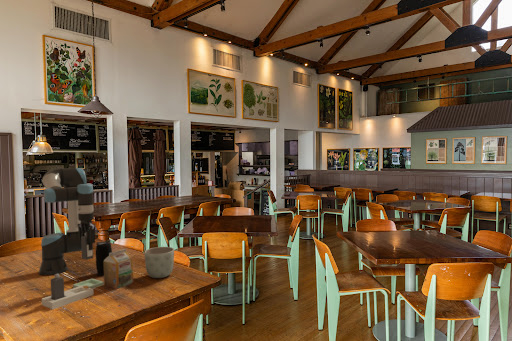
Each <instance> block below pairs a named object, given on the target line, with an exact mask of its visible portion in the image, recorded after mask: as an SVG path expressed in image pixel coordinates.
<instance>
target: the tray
mask: <svg viewBox="0 0 512 341" xmlns="http://www.w3.org/2000/svg"><path fill="white" fill-rule="evenodd" d="M82 285H83V286H89V288H92V289H93V290H94V289H96V288H98V287H102V286H104V280H103V281H102V280H99V279H95V278H90V279H86V280H83V281H80V282H76V283H73V284H72V287H73V288H76V287H79V286H82ZM73 288H72V289H73Z"/></svg>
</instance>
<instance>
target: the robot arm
mask: <svg viewBox="0 0 512 341" xmlns="http://www.w3.org/2000/svg"><path fill="white" fill-rule="evenodd" d="M41 180H42V181H41V182H42V185H43V186H44V187H45V189H44V191H43V197H44V198H43V199H44V202H45V203H47V204H48V203H52V204H53V203H60V202H67V217H68V218H67V220H68V229H67V230H66V232H65V233H66V234H63V233H62V232H54V233H51V234H47V235H44V236H43V237H42V238H41V244H40V246H41V263H40V266H39V270H38V274H39V275H41V276H52V275H53V276H55V274H59V275H60V274H61V273H65V272H66V271H67V270H68V265H67V263H66V260H65V258H64V255H65V254H67V253H76V252H82V247H81V237H83V236H85V233H86V236H87V242H88V244H87V257H89V256H93V257H94V248H93V247H92V244H96V227H97V226H96V224H93V222H92V220H94V218H95V214H94V212H95V211H94V195H93V194H94V187H93V184H91V183H87V176H86V171H85V170H84V169H83V168H82V167H73V168H72V167H69V168H67V167H65V168H54V169H51V170H49V171H47V172H45V174H44V175H43V176H42V179H41ZM92 249H93V251H92Z"/></svg>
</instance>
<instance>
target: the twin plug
mask: <svg viewBox="0 0 512 341" xmlns="http://www.w3.org/2000/svg"><path fill="white" fill-rule="evenodd" d="M64 291H65V282H64V277H62V276H60V273H59V274H54V277H53V278H50V296H51V299H53V300H57V299H60V298H63V297H64Z"/></svg>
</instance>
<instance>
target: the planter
mask: <svg viewBox="0 0 512 341" xmlns="http://www.w3.org/2000/svg"><path fill="white" fill-rule="evenodd" d="M174 260H175V248H173V247H170V246H157V247H151V248H148V249H146V250H144V261H145V262H144V263H145V264H144V265H145V270H146V273H147V275H148V276H149V277H150V278H153V279H162V278H166V277H168V276H170V275H171V274H172V272H173V270H174Z"/></svg>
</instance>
